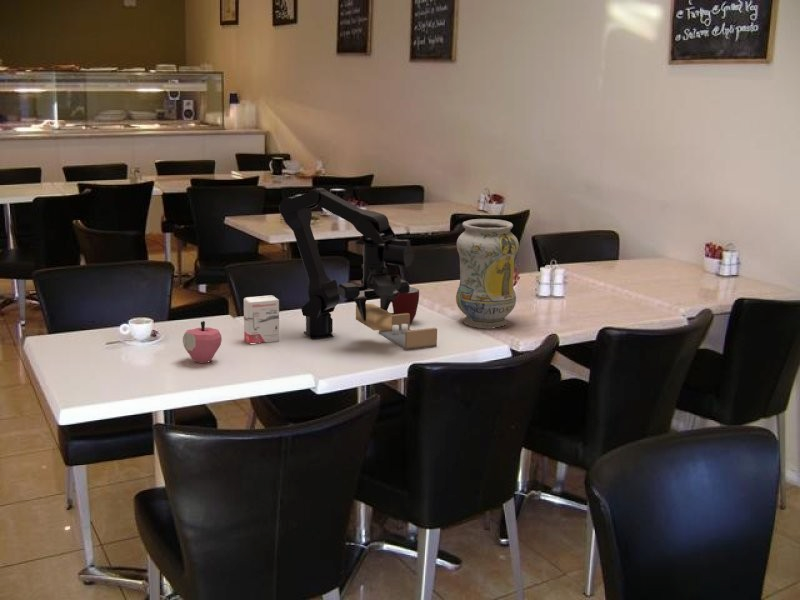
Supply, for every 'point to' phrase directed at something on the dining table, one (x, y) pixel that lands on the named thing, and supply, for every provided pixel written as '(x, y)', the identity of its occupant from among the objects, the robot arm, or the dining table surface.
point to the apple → (202, 343)
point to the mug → (406, 303)
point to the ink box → (261, 319)
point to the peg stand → (409, 334)
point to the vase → (486, 272)
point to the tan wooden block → (375, 317)
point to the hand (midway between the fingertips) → (373, 319)
